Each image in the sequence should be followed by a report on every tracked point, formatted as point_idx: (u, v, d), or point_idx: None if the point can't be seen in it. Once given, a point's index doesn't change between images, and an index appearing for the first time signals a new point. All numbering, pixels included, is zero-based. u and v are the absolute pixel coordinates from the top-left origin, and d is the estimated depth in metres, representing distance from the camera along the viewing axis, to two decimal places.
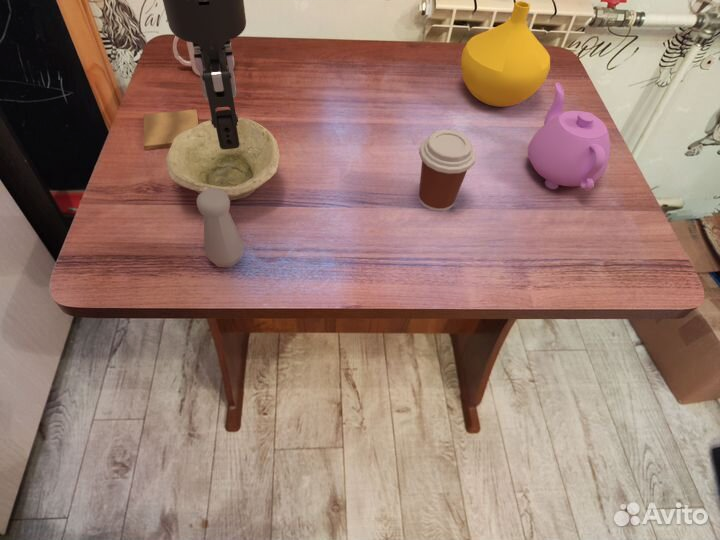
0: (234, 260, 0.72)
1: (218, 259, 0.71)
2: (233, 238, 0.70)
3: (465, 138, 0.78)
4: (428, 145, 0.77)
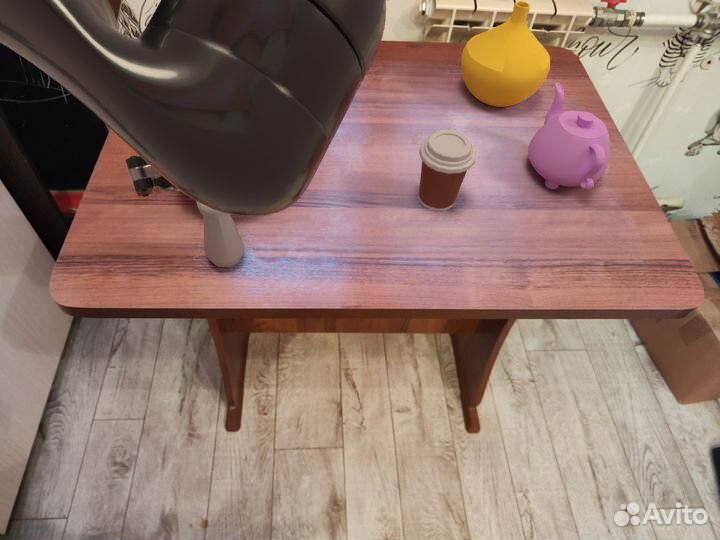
0: (234, 260, 0.72)
1: (218, 259, 0.71)
2: (233, 238, 0.70)
3: (465, 138, 0.78)
4: (428, 145, 0.77)
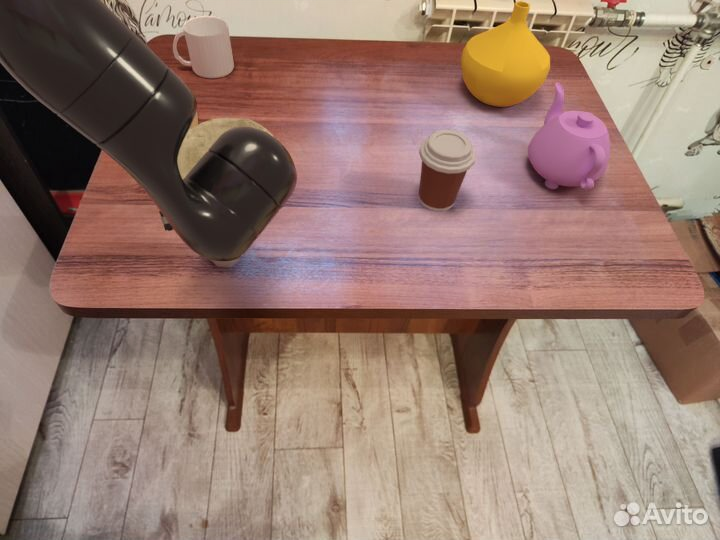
0: (234, 260, 0.72)
1: None
2: None
3: (465, 138, 0.78)
4: (428, 145, 0.77)
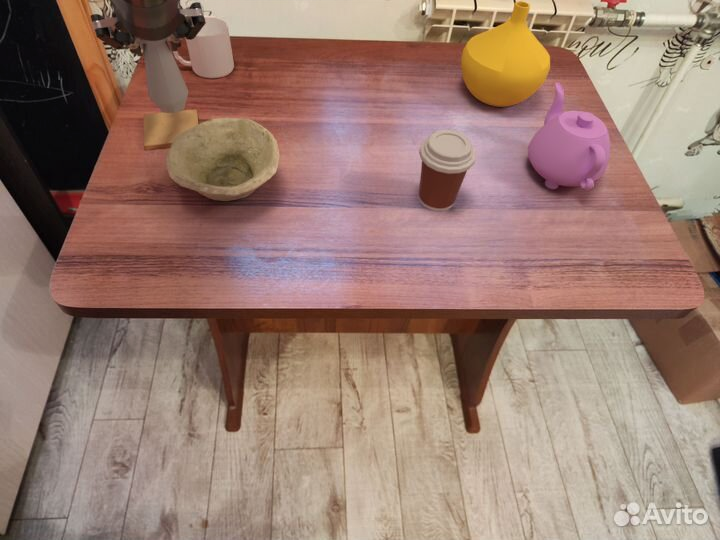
0: (177, 102, 0.73)
1: (160, 98, 0.72)
2: (174, 76, 0.71)
3: (465, 138, 0.78)
4: (428, 145, 0.77)
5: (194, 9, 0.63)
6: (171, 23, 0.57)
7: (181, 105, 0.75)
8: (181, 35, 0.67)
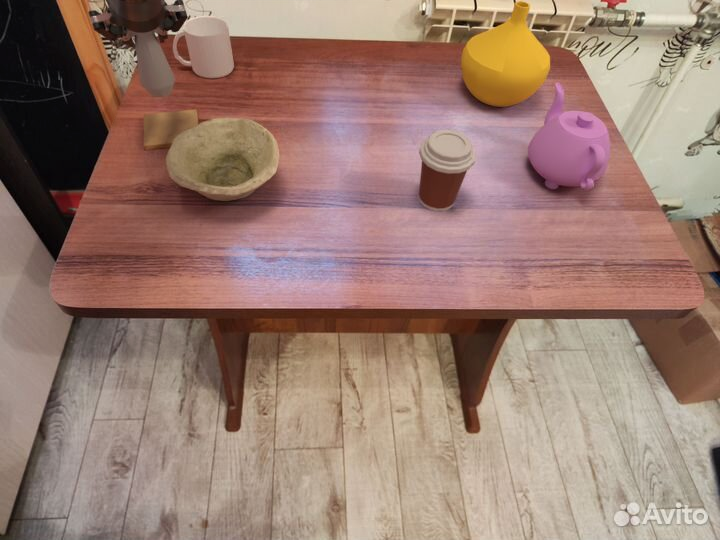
0: (165, 87, 0.84)
1: (150, 84, 0.83)
2: (162, 64, 0.82)
3: (465, 138, 0.78)
4: (428, 145, 0.77)
5: (178, 5, 0.73)
6: (157, 17, 0.67)
7: (169, 90, 0.85)
8: (167, 28, 0.78)
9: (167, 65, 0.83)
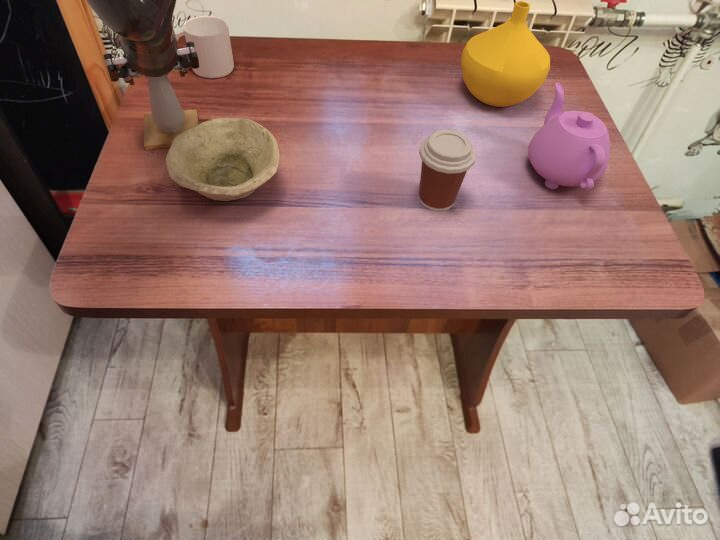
0: (175, 124, 0.90)
1: (162, 122, 0.89)
2: (173, 104, 0.88)
3: (465, 138, 0.78)
4: (428, 145, 0.77)
5: (188, 47, 0.78)
6: (169, 64, 0.73)
7: (179, 126, 0.91)
8: (188, 65, 0.83)
9: (178, 104, 0.89)
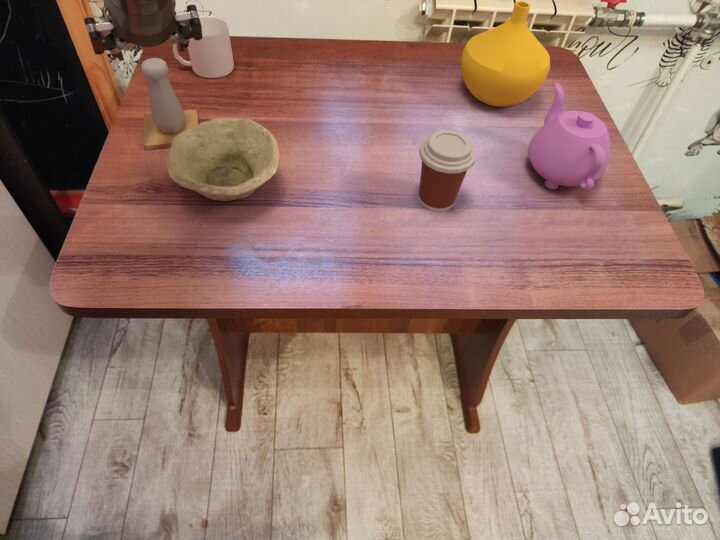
0: (175, 124, 0.90)
1: (162, 122, 0.89)
2: (173, 104, 0.88)
3: (465, 138, 0.78)
4: (428, 145, 0.77)
5: (189, 12, 0.63)
6: (166, 30, 0.58)
7: (179, 126, 0.91)
8: (189, 36, 0.68)
9: (178, 104, 0.89)
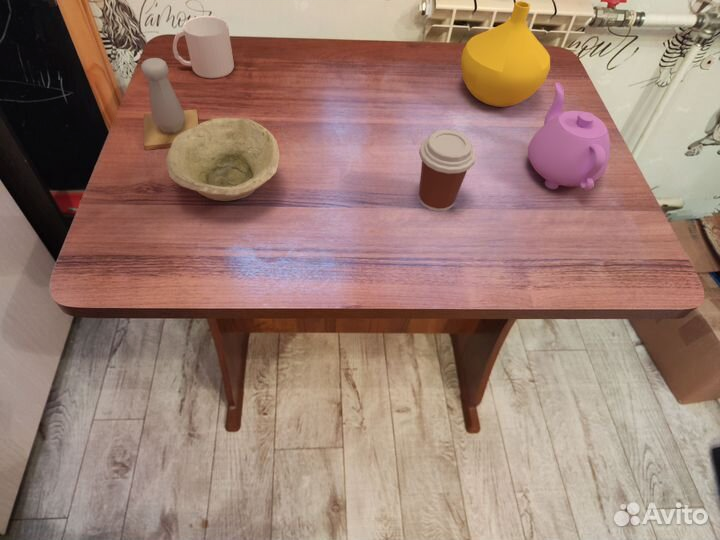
0: (175, 124, 0.90)
1: (162, 122, 0.89)
2: (173, 104, 0.88)
3: (465, 138, 0.78)
4: (428, 145, 0.77)
5: None
6: None
7: (179, 126, 0.91)
8: None
9: (178, 104, 0.89)
